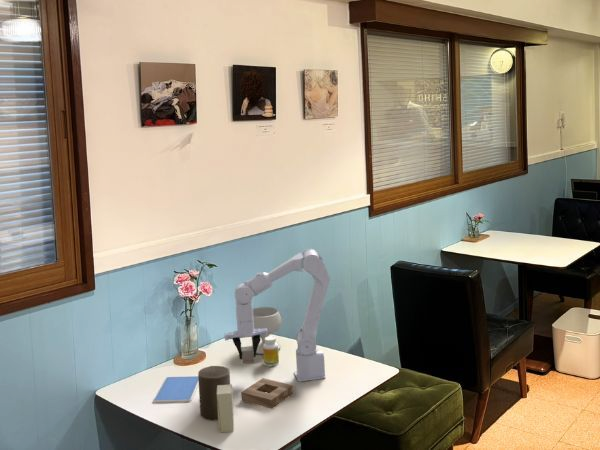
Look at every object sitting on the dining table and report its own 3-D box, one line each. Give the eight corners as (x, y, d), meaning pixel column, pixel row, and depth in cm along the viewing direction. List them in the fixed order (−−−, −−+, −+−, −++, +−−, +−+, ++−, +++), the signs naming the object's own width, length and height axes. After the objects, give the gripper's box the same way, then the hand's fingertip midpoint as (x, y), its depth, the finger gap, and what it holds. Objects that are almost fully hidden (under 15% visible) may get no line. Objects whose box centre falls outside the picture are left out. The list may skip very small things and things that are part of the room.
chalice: (290, 347, 255) (288, 310, 252) (264, 358, 245) (261, 320, 242) (265, 339, 264) (263, 303, 261) (239, 350, 254) (236, 313, 251)
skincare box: (219, 422, 197) (216, 384, 195) (234, 421, 198) (231, 383, 195) (218, 433, 191) (215, 394, 189) (234, 431, 191) (231, 392, 189)
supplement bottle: (277, 366, 237) (275, 341, 235) (262, 366, 238) (261, 340, 236) (280, 360, 242) (279, 335, 240) (266, 360, 243) (264, 335, 241)
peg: (252, 358, 227) (251, 345, 227) (254, 362, 224) (253, 350, 223) (241, 359, 227) (240, 347, 226) (242, 364, 223) (241, 351, 222)
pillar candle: (205, 423, 197) (202, 376, 194) (196, 410, 206) (194, 364, 203) (236, 416, 201) (234, 370, 198) (226, 403, 210) (224, 359, 207)
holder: (263, 386, 221) (262, 378, 220) (293, 393, 214) (292, 385, 214) (241, 400, 211) (241, 392, 210) (272, 408, 205) (271, 399, 204)
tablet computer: (166, 379, 231) (166, 376, 231) (202, 378, 231) (201, 375, 231) (152, 404, 212) (152, 401, 212) (191, 403, 212) (191, 399, 212)
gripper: (264, 313, 228) (266, 350, 230) (222, 318, 225) (225, 355, 227) (267, 319, 221) (270, 357, 223) (224, 324, 218) (227, 363, 220)
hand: (247, 357), depth 225 cm, fingers closed on peg, 4 cm apart
